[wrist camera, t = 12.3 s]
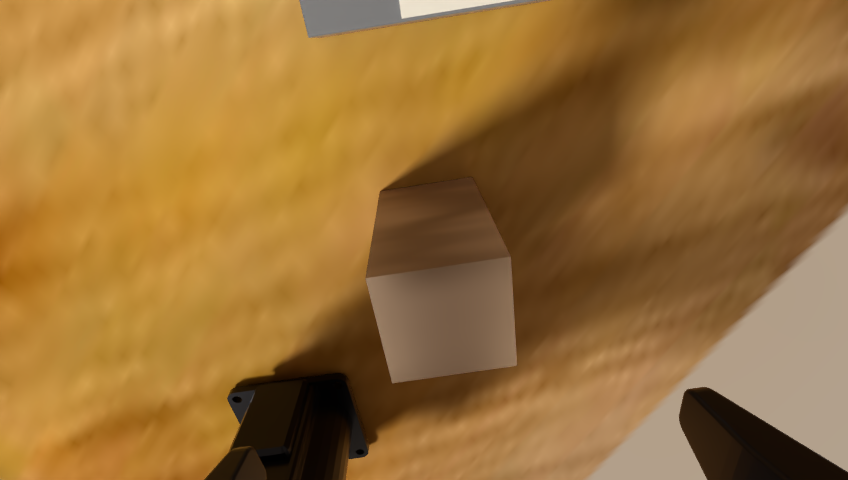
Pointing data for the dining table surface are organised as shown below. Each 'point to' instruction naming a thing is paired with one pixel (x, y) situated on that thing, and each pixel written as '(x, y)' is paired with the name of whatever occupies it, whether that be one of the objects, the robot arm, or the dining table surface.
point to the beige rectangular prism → (440, 282)
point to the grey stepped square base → (386, 13)
